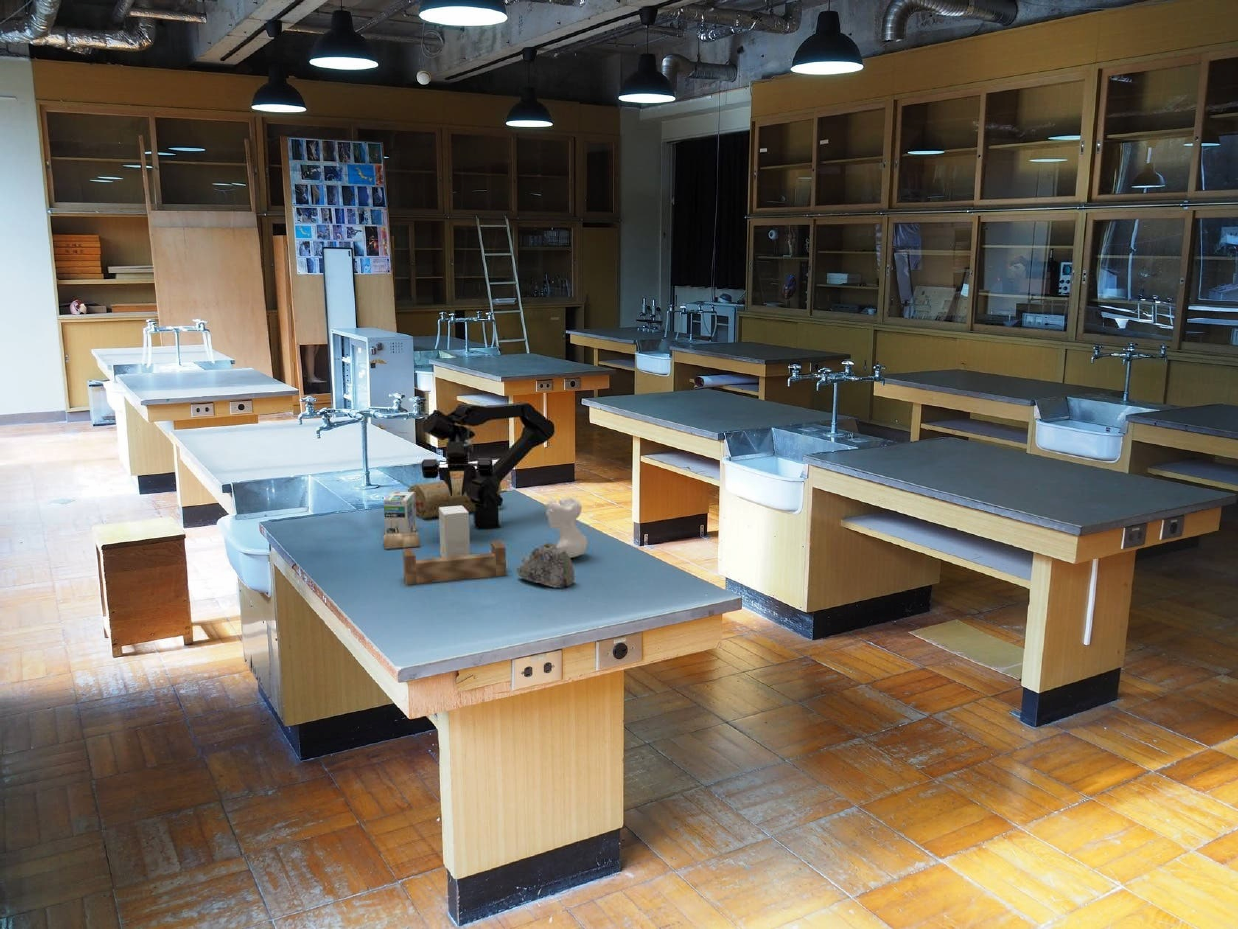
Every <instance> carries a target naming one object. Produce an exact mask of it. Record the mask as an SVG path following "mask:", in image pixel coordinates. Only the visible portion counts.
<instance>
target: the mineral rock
mask: <svg viewBox="0 0 1238 929" xmlns="http://www.w3.org/2000/svg"><path fill="white" fill-rule="evenodd" d="M516 572H517V575H518V576H519V577H521V578H522V579H524V580H527V582H528V581H529V582H532V583H534V584H535V583H536V584H537V583H539V584H541V585H545V586H548V587H552V588H555V589H557V588H558V589H563V588H565V587H569V586H572V584H574V581H575V577H576V576H575V569H574V565H573V562H572V559H571V558H570V557H569V555H568V554H567V552H566V551H565V550H564V549H560V548H557V547H556V545H555V543H552V542H546V543H544V544H542V545H540V546H539V547H536V548H534V549H533V550H532V551H531V552H530V555H529V556H527V557H524V558H522V560H521V564H520V565H519V566H518V567H517V568H516Z"/></svg>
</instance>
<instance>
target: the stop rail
mask: <svg viewBox="0 0 1238 929" xmlns="http://www.w3.org/2000/svg"><path fill="white" fill-rule="evenodd" d="M490 546H491V548H490V549H491V552H488V553H479V554H478V553H477V554H470V555H464V556H453V557H433V558H421V559H416V553H415V550H414V547H411V548H402V559H403V560H402V561H403V577H404V578H403V579H404V581H405V584H406V586H409V585H419V584H420V585H421V584H429V583H440V582H450V581H461V580H471V579H472V580H473V579H480V578H482V579H483V578H490V577H491V578H492V577H502V576H507V558H506V557H507V556H506V555H507V553H506V550H507V549H506V546H505V544H504V543H503V542H502V540H496V541H495V540H494V541H491V544H490Z"/></svg>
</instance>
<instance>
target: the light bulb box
mask: <svg viewBox="0 0 1238 929" xmlns="http://www.w3.org/2000/svg"><path fill="white" fill-rule="evenodd" d="M383 514H384V528H385V529H384V531H385V532H384V533H385V534H384V535H390V534H402V533H414V532H415V531H416V530H417V529H418V525H417V524H418V523H417V522H418V521H417V515H416V501H415V492H408V491H391V492H390V493H389V494H388V496H386V498H385V499H383Z"/></svg>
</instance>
